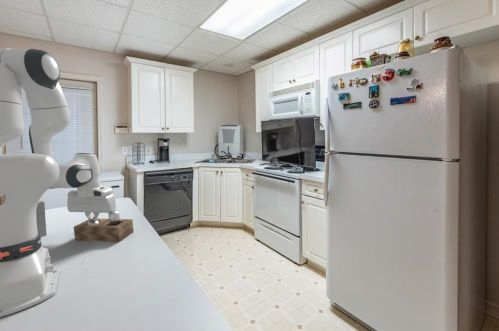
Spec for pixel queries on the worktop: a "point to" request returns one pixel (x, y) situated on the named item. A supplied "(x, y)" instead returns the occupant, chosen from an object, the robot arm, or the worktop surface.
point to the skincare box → (41, 218)
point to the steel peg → (114, 218)
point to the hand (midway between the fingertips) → (93, 221)
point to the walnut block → (103, 231)
